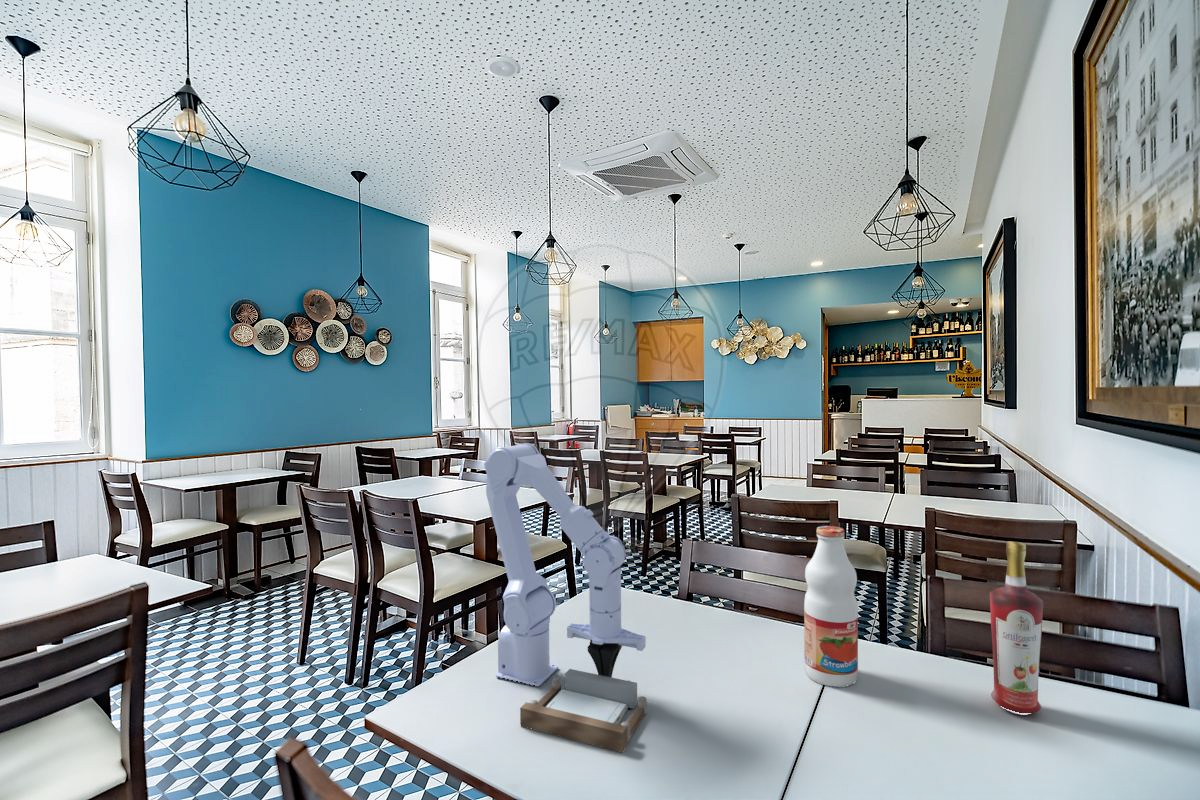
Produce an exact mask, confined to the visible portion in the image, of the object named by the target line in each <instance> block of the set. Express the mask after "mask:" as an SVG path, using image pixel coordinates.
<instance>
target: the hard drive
mask: <svg viewBox="0 0 1200 800" xmlns="http://www.w3.org/2000/svg"><path fill="white" fill-rule="evenodd" d="M546 707H548V708H552V709H556V710H560V711H565V712H569V713H573V714H577V715H581V716H585V717H590V718H594V719H598V720H602V721H606V722H610V723H615V724H619V722H620V721H621V720H622V718H623V717H624V715H625V713H626V712H627V711H628V707H627V704H624V703H619V702H615V701H611V700H607V699H602V698H598V697H594V696H589V695H585V694H580V693H576V692H572V691H567V690H565V689H562V688H561V691H560V692H559V693H558V694H557V695H556V696H555V697H554V698H553V699H552V701H551V702H550V703H549V704H548V705H547V706H546Z"/></svg>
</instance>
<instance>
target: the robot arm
mask: <svg viewBox="0 0 1200 800" xmlns="http://www.w3.org/2000/svg"><path fill="white" fill-rule="evenodd" d="M483 465H484V469H485V473H486V476H487V477H486V488H485V493H486V498H487V502H488V506H489V509H490V510H489V511H490V514H491V519H492V522H493V525H494V529H495V533H496V536H497V541H498V545H499V548H500V552H501V556H502V561H503V565H504V568H505V571H506V576H507V579H508V580H507V581H508V583H507V586H506V587H505V590H504V592H503V595H502V599H503V601H502V602H503V604H504V605H503V621H504V623H505V625H504V626H503V627H502V628H501V630H500V633H499V636H498V641H497V668H498V670H497V671H498V672H497V673H496V674H495V677H496V678H498V677H500V679H502V678H505V679H504V680H507V679H509V680H508V681H511V680H513V681H512V682H516V681H518V682H517V683H520V682H523V683H522V684H524V683H526V684H525V685H529V684H530V685H529V686H533V685H535V686H534V687H540V686H541V685H543V684H544V682H545V681H546V680H548V678H549V677H551V676H552V674H554V673H555V672H556V671H557V669H558V668H559V665H558V664H554V663H550V660H551V659H550V622H551V617H552V615H554V612H555V611H556V607H557V602H556V597H555V596H554V594H553V592H552V590H551V589H550V588H549V586H548V583H547V580H546V578H545V577H543V576H542V575H540V574H539V573H538V572H537V570H536V566H535V563H534V558H533V554H532V551H531V547H530V543H529V539H528V536H527V532H526V528H525V525H524V521H523V517H522V514H521V510H520V506H519V502H518V497H517V494H518V491H520V488H521V487H522V485H524V486H529V487H533V489H534V490H535V491H536V492H537V493H538V494H539V495H540V496H541V497H542V498H543V499H544V500H545V502H547V504H548V505H549V506H550V507H551V508H552V509H553V510H554V512H555V513H556V514H557V515H558V516H559V517H560V518H559V519H560V520H559V521H560V523H559V526H560V528H561V530H562V531H563V532H564V533H565V534H566V536H567V537H568V538H569V540H570V541H571V542H572V543H573V544H574V546H575V547H576V549H578V551H580V553H581V555H582V556H583V558H582V564H583V567H584V570H585V571H586V572H587V575H588V586H589V587H588V588H589V589H588V590H589V591H588V592H589V593H588V594H589V595H588V596H589V597H588V598H589V599H588V600H589V601H588V602H589V603H588V604H589V607H588V608H589V624H587V623H586V624H581V623H574V622H573V623H570V624H569V625H568V626H567V627H566V638H567V639H574V638H578V639H583V640H588V641H590V642H589V645H587V653H589V655H590V657H591V659H592V662H593V663H594V665H595V668H596V671H597V675H602V676H607V677H612V678H613V674H614V669H615V665H616V661H617V659H618V656H619V654H620V651H621V649H622V648H623V647H627V648H633V649H636V651H640V652H643V651H644V650H645V648H646V643H647V642H646V639H647V638H646V635H643V634H638V633H636V632H633V631H629V630H628V629H625V628H622V571H621V570H622V569H621V566H622V565H623V564H624V563H625V560H626V557H627V556H626V555H627V551H626V549H625V546H624V544H623V543H622V540H621V539H620V538H619V537H616V536H614V535H610V533H609V532H608V531H605V530H604V528H602V526H601V525H600V524H599V522H598V521H597V520H596V519H595V517H593V516H594V512H593V511H592V510H591V509H590V508H589V509H587V508H586V507H585V506H584V505H583V506H582V505H577V504H575V503H574V501H573V500H572V499H571V498H570V496H569V495H568V494H567V492H566V491H565V488H564V487H563V486H562V485H561V484H560V482H559V481H558V479H557V478H556V476H554V474H553V472H552V471H551V470H550V468H549V467H548V465H547V461H546V458H545V456H544V455H543V454H542V453H540V452H539V450H538V448H537V447H536V446H535V445H533V444H531V443H529V442H526V443H520V444H516V445H510V446H499V447H496V448H494V449H493V450H491V452H490V453H489V455H488V457H487V458H486V460H485V461H484V464H483Z"/></svg>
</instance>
